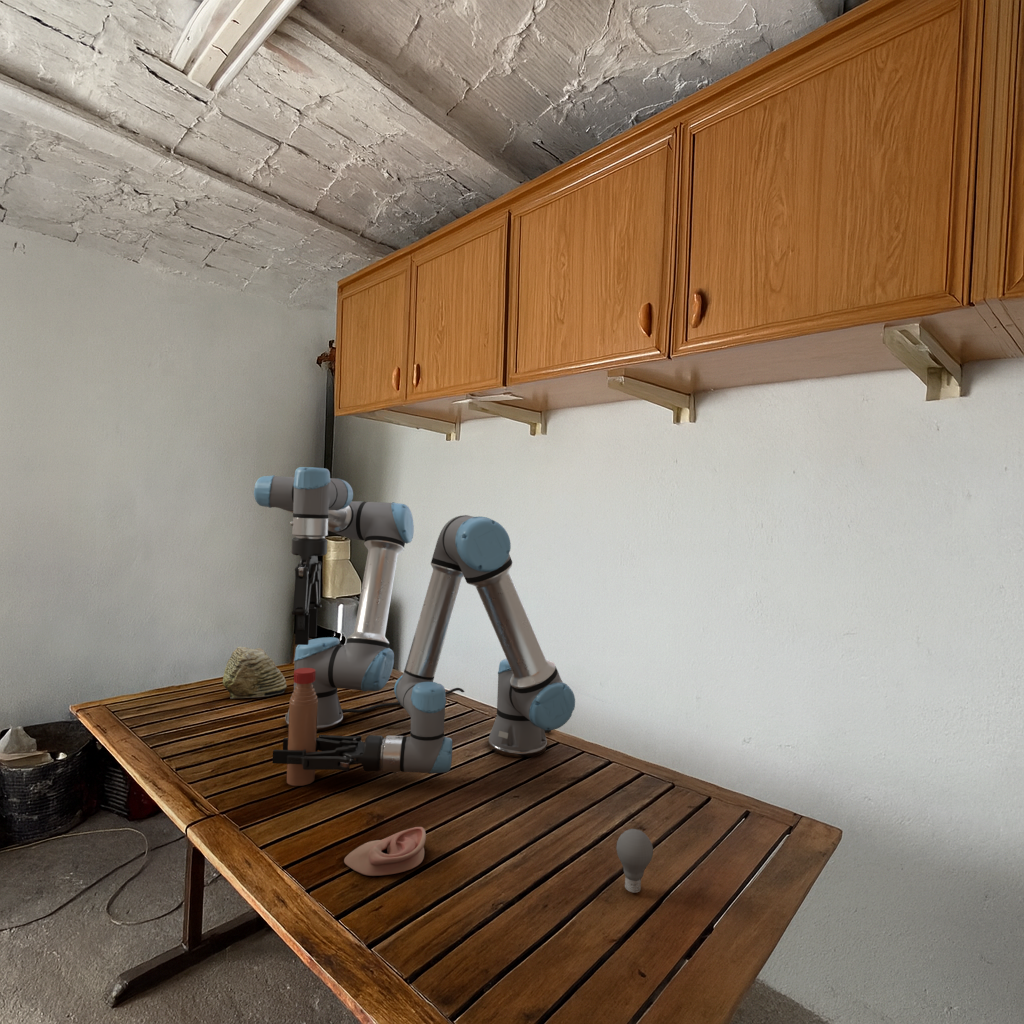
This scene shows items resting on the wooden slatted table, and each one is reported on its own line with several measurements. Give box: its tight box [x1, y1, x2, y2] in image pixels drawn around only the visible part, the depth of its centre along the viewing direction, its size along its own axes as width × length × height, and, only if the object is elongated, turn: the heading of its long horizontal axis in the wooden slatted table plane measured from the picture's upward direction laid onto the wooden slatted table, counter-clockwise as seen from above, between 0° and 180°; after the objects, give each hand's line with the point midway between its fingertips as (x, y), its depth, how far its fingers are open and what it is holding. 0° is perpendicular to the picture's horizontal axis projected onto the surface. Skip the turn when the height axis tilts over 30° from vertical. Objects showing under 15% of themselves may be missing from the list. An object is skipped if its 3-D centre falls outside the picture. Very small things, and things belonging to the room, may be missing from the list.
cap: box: [293, 668, 316, 684], centre depth 141 cm, size 5×5×2 cm
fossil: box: [222, 646, 288, 699], centre depth 198 cm, size 9×18×15 cm, turn 132°
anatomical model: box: [343, 826, 427, 877], centre depth 112 cm, size 13×4×12 cm
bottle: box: [286, 683, 318, 787], centre depth 141 cm, size 6×6×24 cm
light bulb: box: [615, 828, 654, 894], centre depth 106 cm, size 6×6×10 cm
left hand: (306, 640), depth 141 cm, fingers open, 7 cm apart
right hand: (278, 750), depth 141 cm, fingers closed on bottle, 6 cm apart
